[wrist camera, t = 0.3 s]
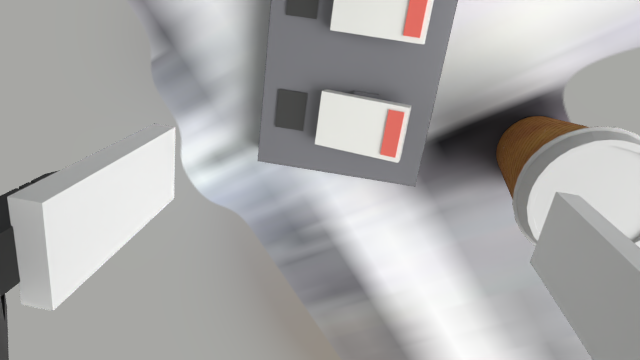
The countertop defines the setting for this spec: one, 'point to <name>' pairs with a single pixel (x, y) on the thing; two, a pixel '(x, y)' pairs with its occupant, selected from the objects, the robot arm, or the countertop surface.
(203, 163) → the countertop surface
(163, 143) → the robot arm
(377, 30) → the rocker middle
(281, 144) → the power strip
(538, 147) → the disposable coffee cup
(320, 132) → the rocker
